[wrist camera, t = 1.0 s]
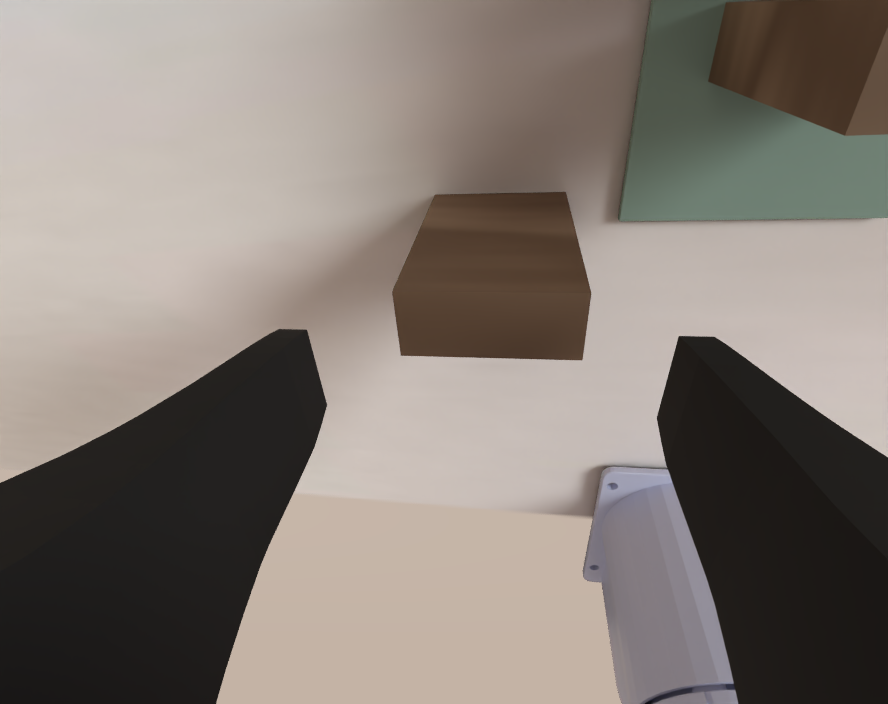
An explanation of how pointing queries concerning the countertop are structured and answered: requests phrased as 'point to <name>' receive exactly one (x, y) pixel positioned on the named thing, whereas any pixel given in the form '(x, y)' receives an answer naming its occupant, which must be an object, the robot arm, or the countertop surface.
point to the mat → (733, 141)
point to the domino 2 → (809, 60)
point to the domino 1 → (494, 280)
